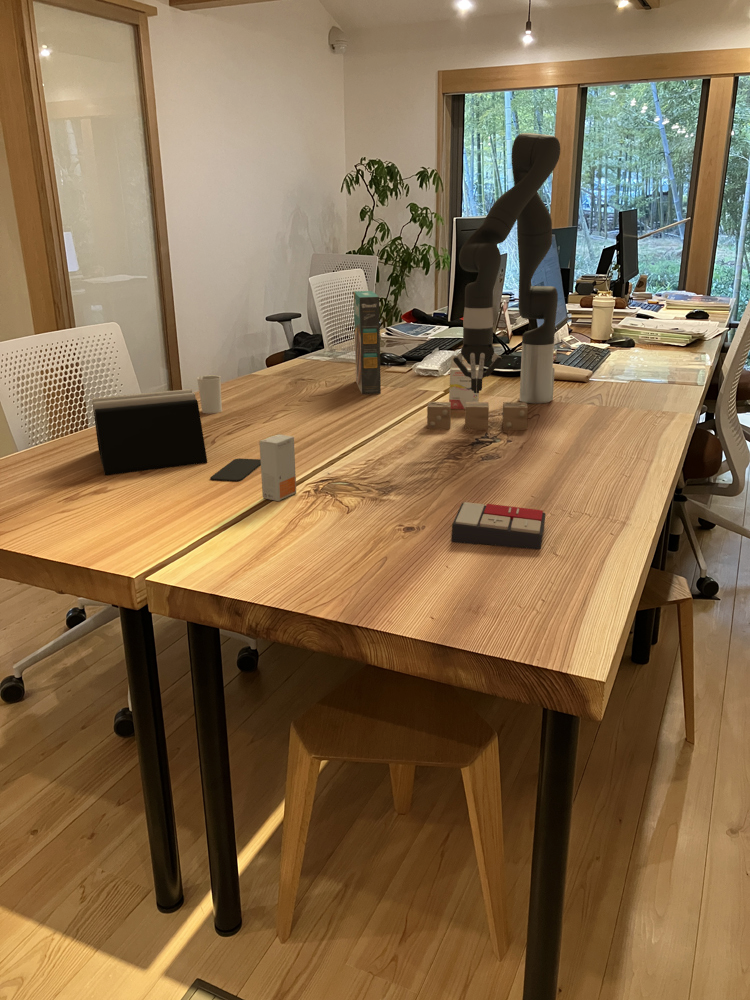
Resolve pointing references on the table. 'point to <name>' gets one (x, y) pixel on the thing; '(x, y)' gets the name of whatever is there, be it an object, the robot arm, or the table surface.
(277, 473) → the skincare box
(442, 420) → the three pip cube
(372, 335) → the cake mix box
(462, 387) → the ink cartridge box
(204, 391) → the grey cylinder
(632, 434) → the table surface
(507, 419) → the two pip cube
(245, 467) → the phone
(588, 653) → the table surface
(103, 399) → the device stand
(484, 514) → the button keypad
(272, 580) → the table surface
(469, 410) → the plain walnut cube
